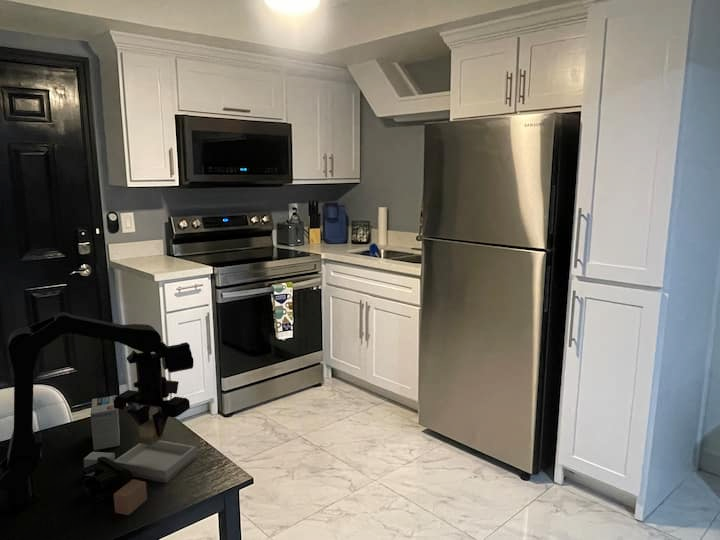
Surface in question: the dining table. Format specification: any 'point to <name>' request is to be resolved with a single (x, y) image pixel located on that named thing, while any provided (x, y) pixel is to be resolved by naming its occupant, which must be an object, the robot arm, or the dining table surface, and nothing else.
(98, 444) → the light bulb box
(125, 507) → the terracotta block
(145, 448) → the tray
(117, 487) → the end cap
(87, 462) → the pale blue block
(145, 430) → the maple block
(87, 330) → the robot arm
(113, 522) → the dining table surface
